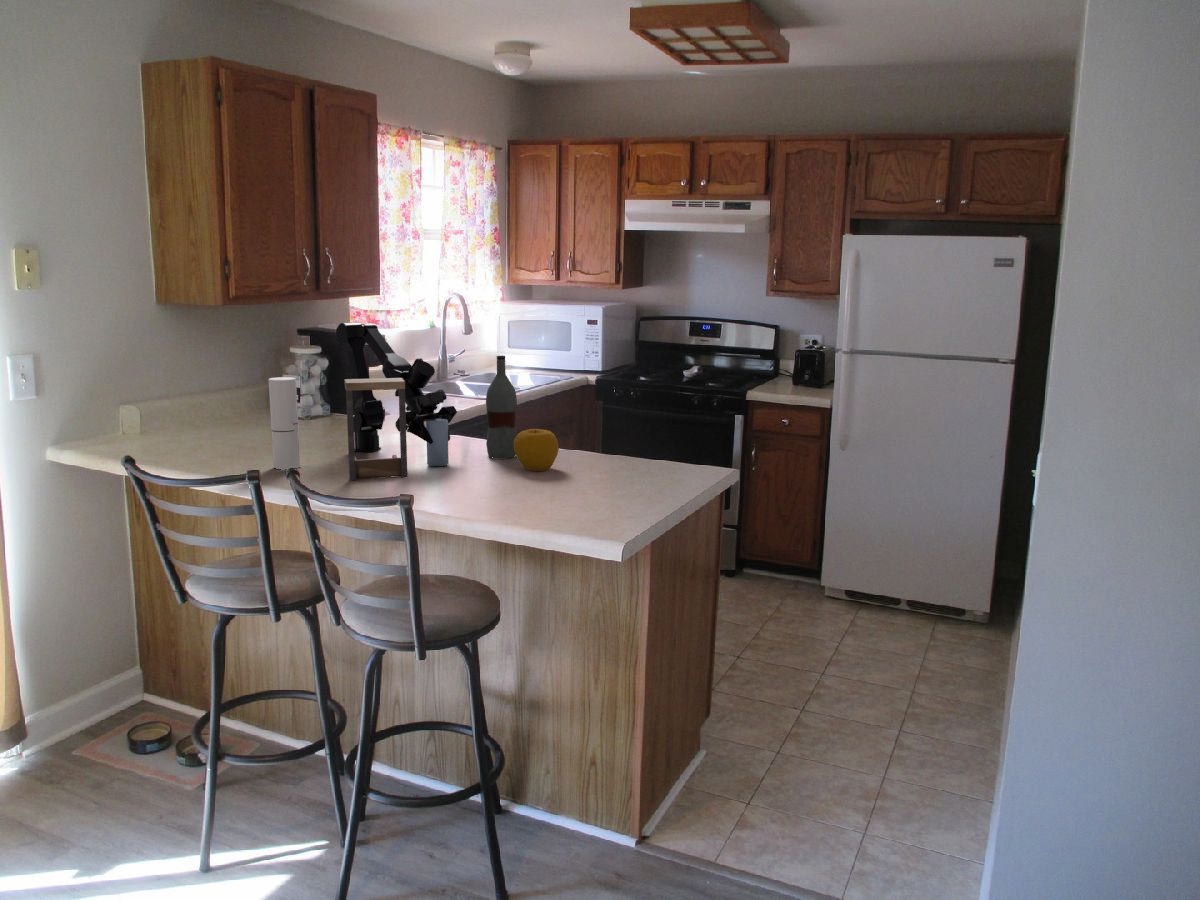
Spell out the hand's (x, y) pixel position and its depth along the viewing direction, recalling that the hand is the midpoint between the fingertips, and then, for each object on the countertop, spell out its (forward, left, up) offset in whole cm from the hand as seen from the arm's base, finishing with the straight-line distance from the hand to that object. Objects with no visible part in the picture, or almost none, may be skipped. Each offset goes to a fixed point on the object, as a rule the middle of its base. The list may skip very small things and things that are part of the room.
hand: (440, 441), depth 272 cm
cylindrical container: (-39, -18, -7) cm, 43 cm away
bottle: (+9, +20, -7) cm, 23 cm away
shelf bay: (-12, -15, -7) cm, 20 cm away
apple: (+26, +7, -7) cm, 28 cm away
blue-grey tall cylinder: (-1, 0, -7) cm, 7 cm away
